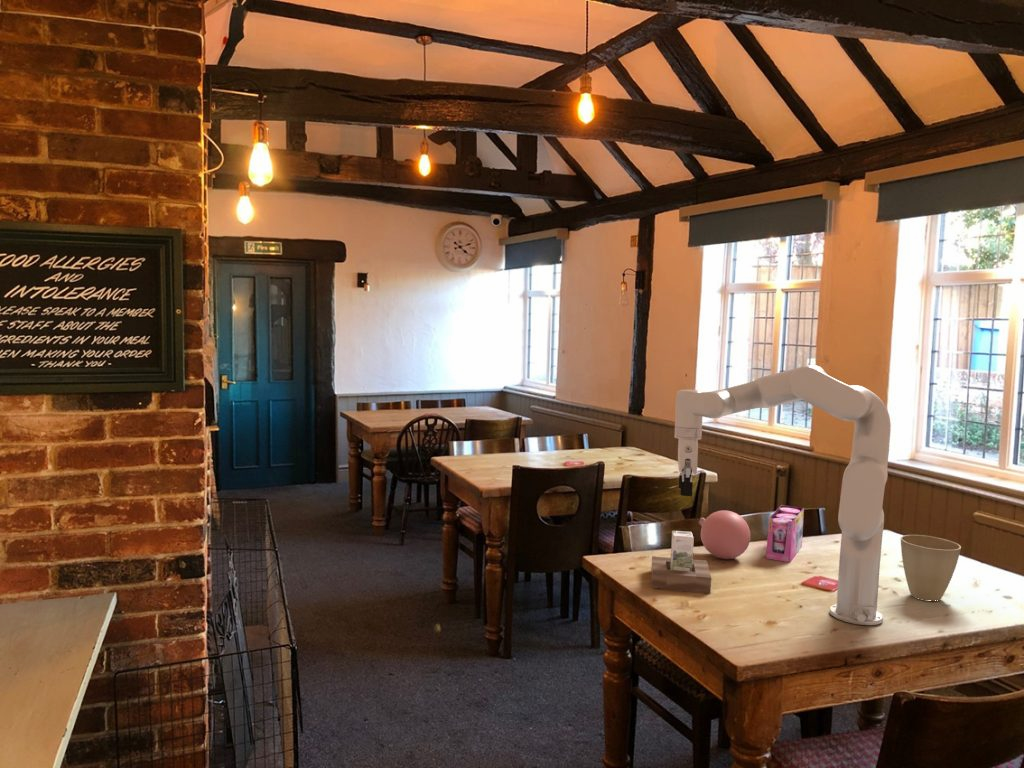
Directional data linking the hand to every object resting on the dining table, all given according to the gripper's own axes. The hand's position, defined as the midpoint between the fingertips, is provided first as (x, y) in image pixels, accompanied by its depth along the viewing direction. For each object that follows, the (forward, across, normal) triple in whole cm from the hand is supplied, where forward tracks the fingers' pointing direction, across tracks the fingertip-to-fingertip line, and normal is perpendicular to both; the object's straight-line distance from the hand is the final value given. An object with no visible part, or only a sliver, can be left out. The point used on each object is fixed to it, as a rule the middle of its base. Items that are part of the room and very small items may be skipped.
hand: (685, 492), depth 220 cm
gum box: (+27, +41, -36) cm, 60 cm away
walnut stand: (+26, 0, 0) cm, 26 cm away
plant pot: (+27, +5, -68) cm, 73 cm away
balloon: (+26, +30, -14) cm, 42 cm away
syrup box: (+26, 0, 0) cm, 27 cm away
